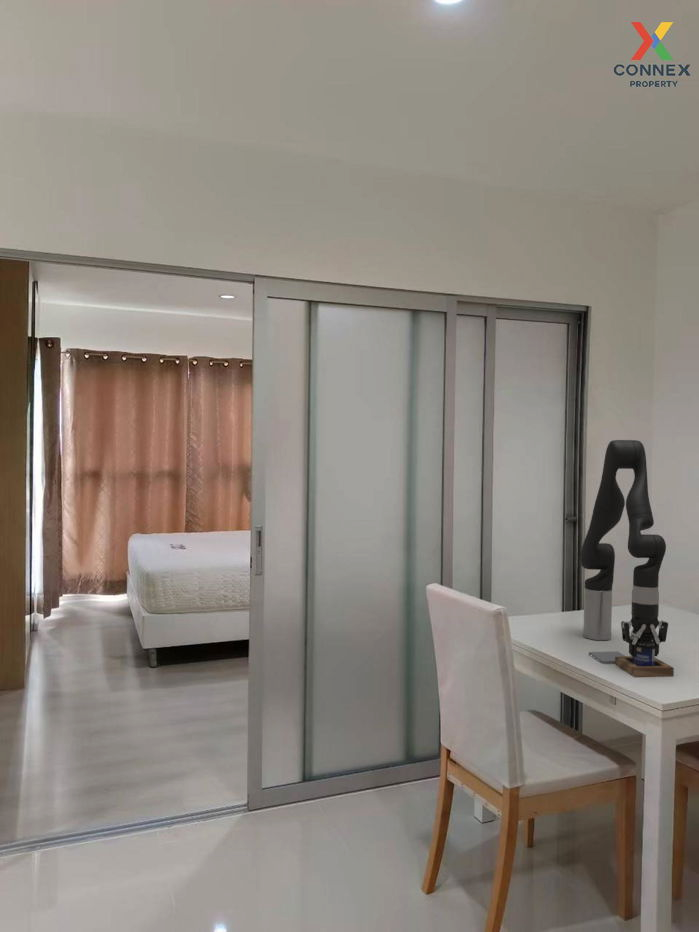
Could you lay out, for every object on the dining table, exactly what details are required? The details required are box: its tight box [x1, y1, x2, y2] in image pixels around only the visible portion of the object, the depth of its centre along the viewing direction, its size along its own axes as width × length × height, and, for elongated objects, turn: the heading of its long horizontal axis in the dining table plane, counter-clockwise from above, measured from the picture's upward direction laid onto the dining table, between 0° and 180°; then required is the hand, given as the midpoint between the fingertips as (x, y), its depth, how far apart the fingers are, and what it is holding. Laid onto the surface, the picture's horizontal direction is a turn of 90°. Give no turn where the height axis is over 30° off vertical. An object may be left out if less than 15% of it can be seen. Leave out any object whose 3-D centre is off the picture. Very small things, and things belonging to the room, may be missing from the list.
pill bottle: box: [633, 632, 656, 666], centre depth 216 cm, size 6×6×11 cm
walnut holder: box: [614, 655, 675, 678], centre depth 216 cm, size 12×12×2 cm
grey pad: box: [588, 651, 626, 664], centre depth 228 cm, size 10×10×1 cm
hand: (643, 655), depth 216 cm, fingers closed on pill bottle, 6 cm apart
